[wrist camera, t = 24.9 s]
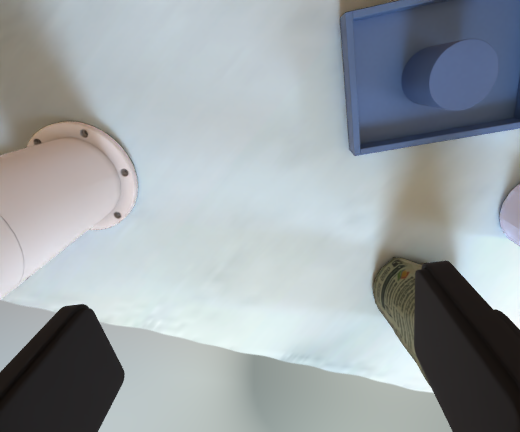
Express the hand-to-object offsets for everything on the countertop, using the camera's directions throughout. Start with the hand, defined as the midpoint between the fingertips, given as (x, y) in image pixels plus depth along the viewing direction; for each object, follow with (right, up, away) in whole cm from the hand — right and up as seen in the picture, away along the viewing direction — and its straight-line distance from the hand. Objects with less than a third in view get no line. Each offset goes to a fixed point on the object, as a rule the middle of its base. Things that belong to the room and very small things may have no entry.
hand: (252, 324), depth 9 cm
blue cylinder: (+16, +16, +20) cm, 30 cm away
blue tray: (+16, +17, +20) cm, 31 cm away
